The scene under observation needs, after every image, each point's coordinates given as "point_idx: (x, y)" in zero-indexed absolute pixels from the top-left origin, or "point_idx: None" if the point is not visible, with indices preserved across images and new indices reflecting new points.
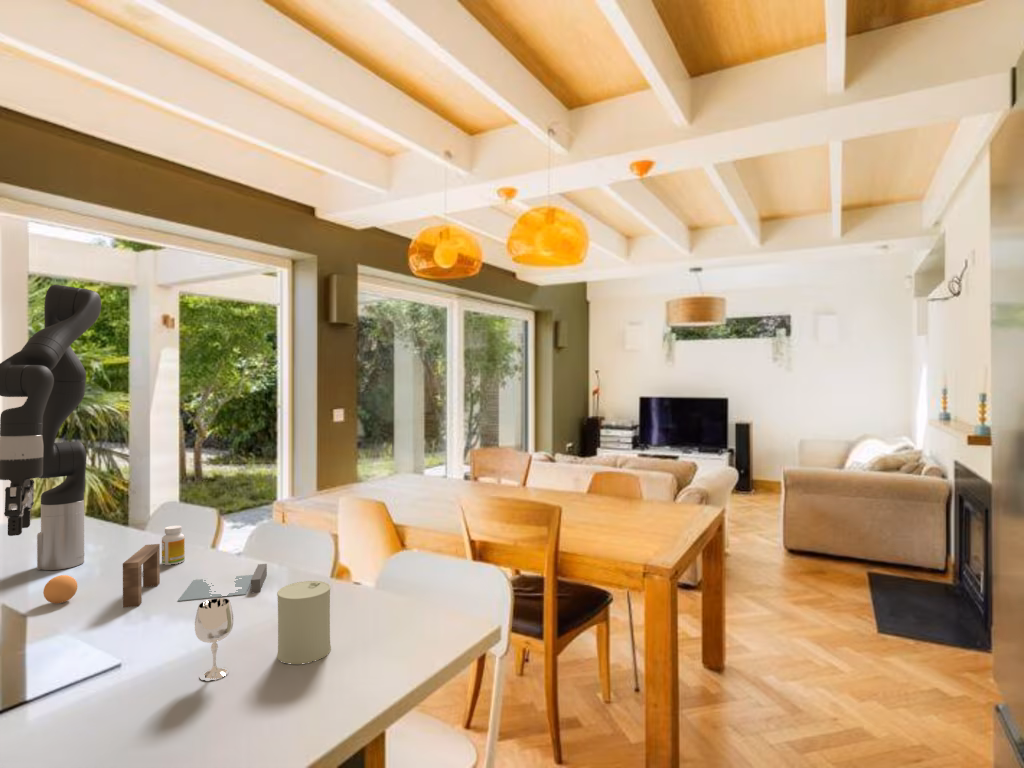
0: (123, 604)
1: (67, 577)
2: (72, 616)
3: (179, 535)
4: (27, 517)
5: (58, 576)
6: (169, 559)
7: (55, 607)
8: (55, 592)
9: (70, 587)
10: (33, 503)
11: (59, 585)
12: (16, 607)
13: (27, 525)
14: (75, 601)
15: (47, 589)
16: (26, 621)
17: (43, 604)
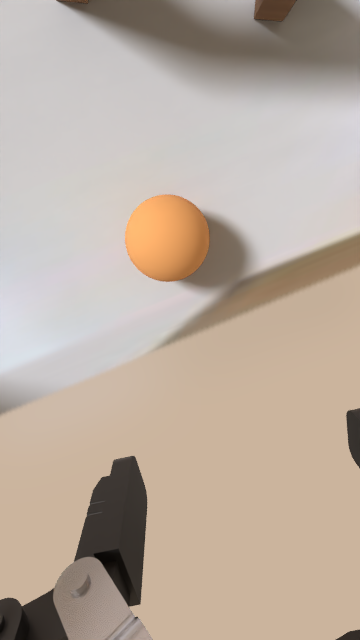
0: (287, 12)
1: (176, 219)
2: (293, 161)
3: None
4: (127, 511)
5: (173, 248)
6: None
7: None
8: (209, 238)
9: (191, 203)
10: (3, 617)
11: (204, 231)
12: (167, 330)
13: (135, 467)
14: None
15: (202, 262)
16: (281, 265)
17: None
